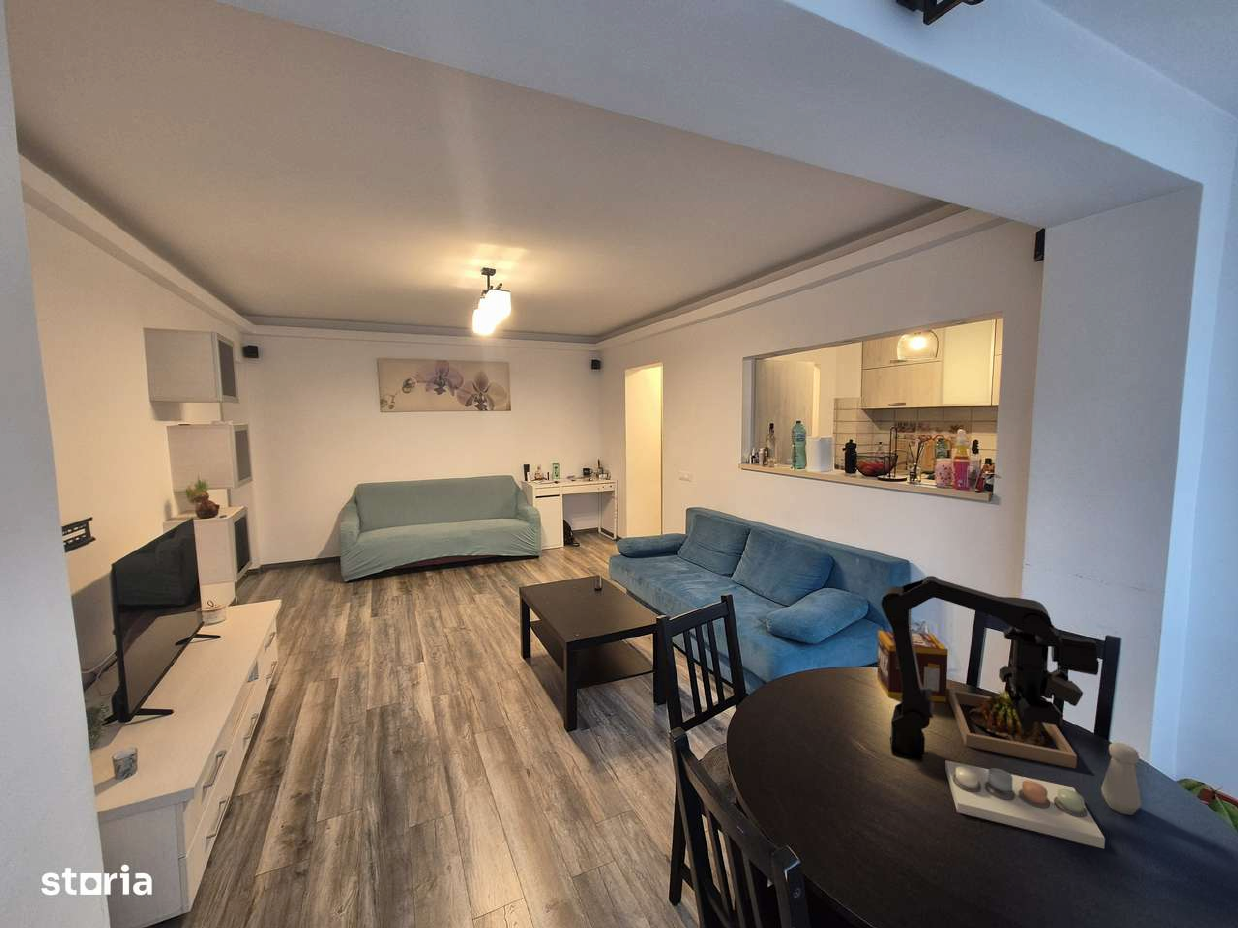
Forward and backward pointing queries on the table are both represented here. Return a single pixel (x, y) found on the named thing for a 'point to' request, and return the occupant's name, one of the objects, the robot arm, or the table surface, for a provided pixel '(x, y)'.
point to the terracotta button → (1034, 792)
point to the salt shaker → (1122, 780)
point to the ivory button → (966, 777)
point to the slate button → (1000, 779)
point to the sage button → (1071, 800)
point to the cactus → (1007, 722)
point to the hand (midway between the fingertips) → (1026, 731)
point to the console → (1022, 807)
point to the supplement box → (928, 660)
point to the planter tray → (1058, 757)
